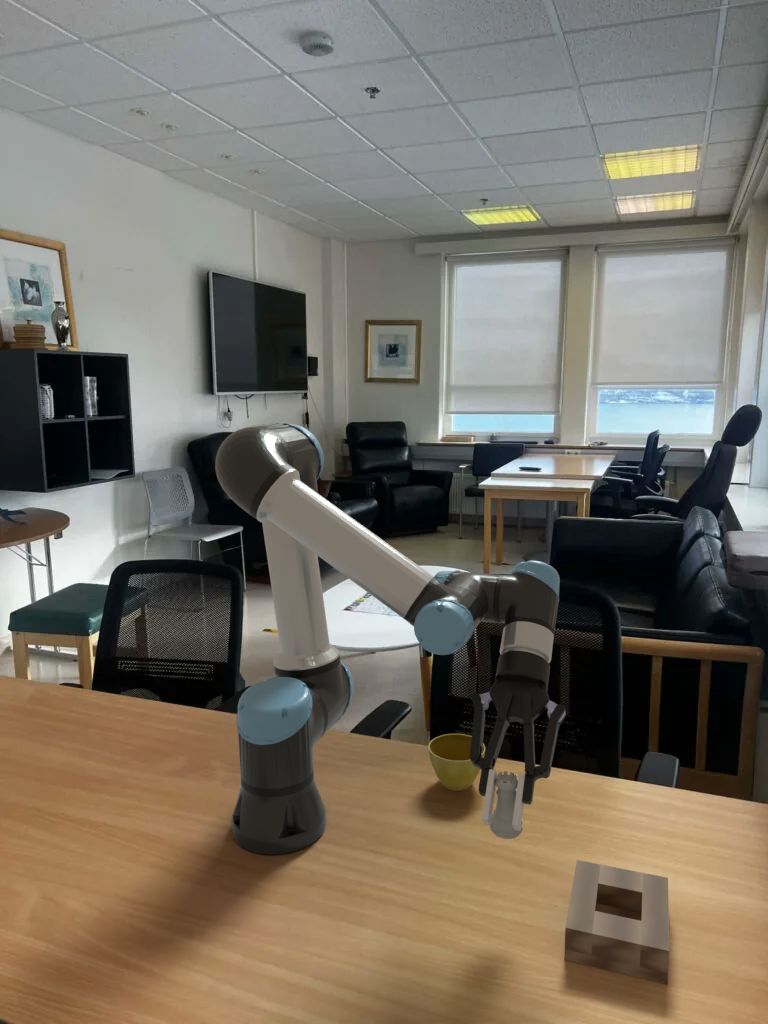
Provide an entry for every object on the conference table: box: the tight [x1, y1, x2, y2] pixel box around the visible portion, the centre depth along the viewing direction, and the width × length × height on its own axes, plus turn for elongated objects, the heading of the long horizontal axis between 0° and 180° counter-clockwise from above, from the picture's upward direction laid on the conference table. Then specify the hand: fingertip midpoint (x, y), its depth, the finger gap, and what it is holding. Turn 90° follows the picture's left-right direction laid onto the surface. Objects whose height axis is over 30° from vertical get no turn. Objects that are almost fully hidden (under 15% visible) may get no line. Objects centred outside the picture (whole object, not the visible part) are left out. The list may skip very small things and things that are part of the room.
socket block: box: [563, 859, 670, 985], centre depth 97 cm, size 12×14×4 cm
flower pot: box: [427, 733, 486, 792], centre depth 133 cm, size 10×10×7 cm
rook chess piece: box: [489, 770, 524, 840], centre depth 101 cm, size 4×4×8 cm
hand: (501, 824), depth 97 cm, fingers closed on rook chess piece, 3 cm apart
